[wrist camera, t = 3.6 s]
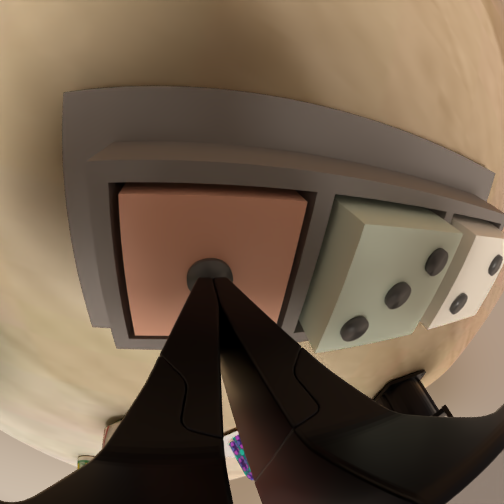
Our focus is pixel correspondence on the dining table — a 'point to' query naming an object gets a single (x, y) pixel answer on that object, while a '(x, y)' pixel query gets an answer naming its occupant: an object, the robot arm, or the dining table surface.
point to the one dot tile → (205, 245)
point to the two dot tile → (467, 272)
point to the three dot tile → (375, 272)
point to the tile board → (239, 175)
